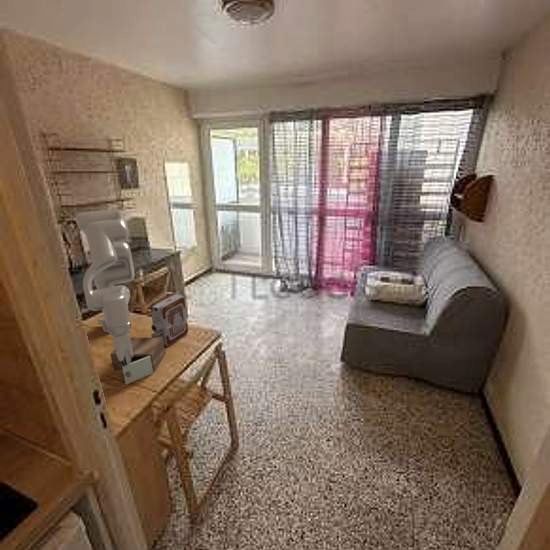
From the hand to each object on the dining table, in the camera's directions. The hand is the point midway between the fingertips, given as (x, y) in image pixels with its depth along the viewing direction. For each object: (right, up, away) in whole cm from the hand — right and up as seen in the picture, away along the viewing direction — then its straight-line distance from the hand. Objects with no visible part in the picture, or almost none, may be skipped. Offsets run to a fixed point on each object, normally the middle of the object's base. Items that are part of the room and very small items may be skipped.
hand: (128, 370), depth 123 cm
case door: (+4, -3, 0) cm, 5 cm away
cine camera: (+7, +6, +25) cm, 27 cm away
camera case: (0, 0, +10) cm, 10 cm away
